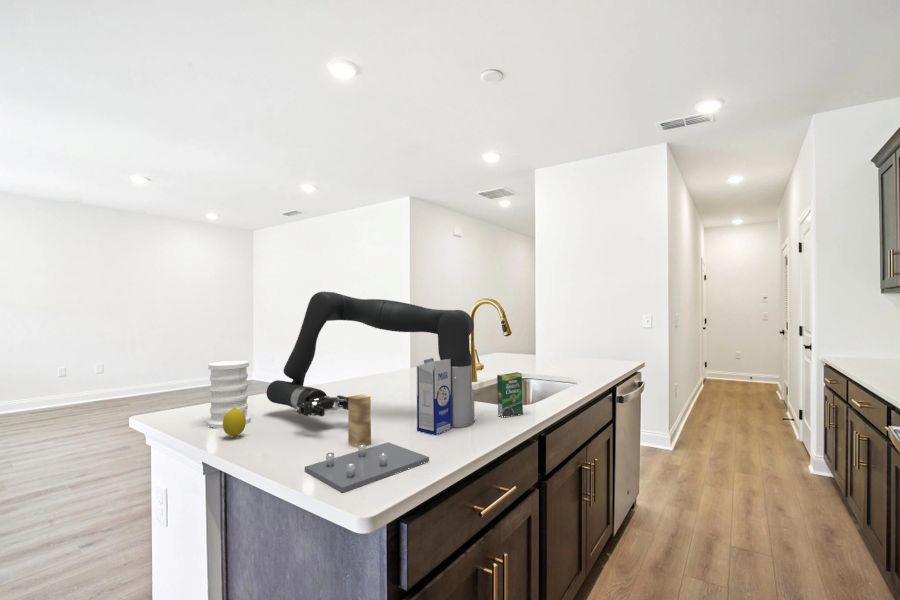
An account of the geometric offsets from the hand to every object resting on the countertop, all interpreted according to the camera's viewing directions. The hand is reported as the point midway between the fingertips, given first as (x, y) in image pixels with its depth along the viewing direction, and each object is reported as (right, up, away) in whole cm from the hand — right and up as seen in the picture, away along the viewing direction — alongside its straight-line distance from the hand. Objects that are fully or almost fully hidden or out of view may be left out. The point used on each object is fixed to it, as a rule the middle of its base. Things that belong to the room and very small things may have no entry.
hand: (337, 409), depth 117 cm
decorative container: (-36, -8, +13) cm, 39 cm away
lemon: (-27, -7, -1) cm, 28 cm away
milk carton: (+26, -7, +4) cm, 27 cm away
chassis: (+12, -7, -22) cm, 26 cm away
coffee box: (+49, -7, +19) cm, 53 cm away
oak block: (+7, -7, -7) cm, 13 cm away
